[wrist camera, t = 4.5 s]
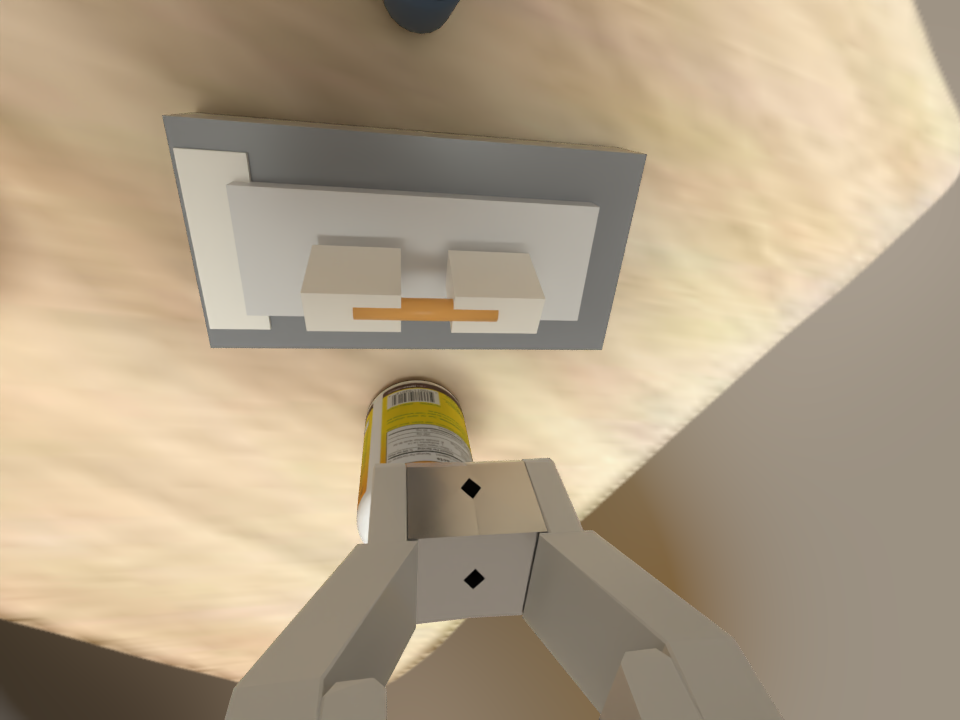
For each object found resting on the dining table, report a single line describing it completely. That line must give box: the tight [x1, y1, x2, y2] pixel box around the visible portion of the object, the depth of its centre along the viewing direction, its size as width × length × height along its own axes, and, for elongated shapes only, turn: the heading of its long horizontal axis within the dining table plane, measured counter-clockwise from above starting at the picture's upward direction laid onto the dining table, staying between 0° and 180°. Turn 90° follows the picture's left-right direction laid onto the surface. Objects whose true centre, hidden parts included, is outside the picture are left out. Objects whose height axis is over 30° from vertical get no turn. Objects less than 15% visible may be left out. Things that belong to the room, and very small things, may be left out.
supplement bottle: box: [357, 380, 473, 544], centre depth 23 cm, size 6×6×10 cm
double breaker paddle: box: [300, 245, 545, 334], centre depth 18 cm, size 2×8×3 cm, turn 85°
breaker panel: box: [162, 113, 647, 350], centre depth 21 cm, size 9×18×4 cm, turn 85°
